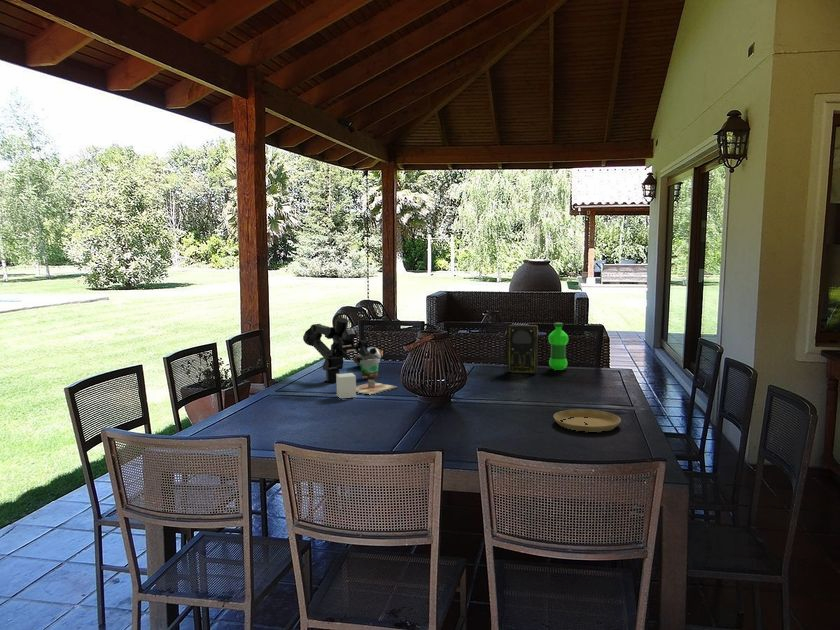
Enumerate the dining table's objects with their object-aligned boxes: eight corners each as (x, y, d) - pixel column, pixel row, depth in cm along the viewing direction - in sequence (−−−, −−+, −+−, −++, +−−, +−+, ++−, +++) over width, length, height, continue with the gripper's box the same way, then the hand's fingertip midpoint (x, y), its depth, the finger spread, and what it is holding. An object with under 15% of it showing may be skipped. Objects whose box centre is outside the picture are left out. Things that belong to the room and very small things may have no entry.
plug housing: (339, 399, 279) (339, 377, 277) (336, 395, 286) (336, 374, 284) (356, 398, 281) (355, 376, 280) (352, 394, 288) (352, 372, 287)
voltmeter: (506, 373, 329) (506, 325, 326) (509, 370, 337) (509, 323, 335) (536, 374, 325) (537, 326, 322) (538, 371, 333) (539, 324, 330)
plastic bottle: (544, 368, 339) (545, 322, 337) (562, 367, 343) (562, 321, 340) (554, 372, 330) (554, 324, 327) (571, 370, 333) (572, 323, 330)
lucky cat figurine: (367, 363, 362) (378, 342, 360) (379, 374, 354) (390, 353, 352) (348, 359, 351) (359, 338, 349) (359, 370, 343) (371, 348, 341)
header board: (345, 390, 295) (345, 381, 295) (372, 384, 309) (372, 375, 308) (370, 395, 285) (369, 386, 284) (397, 388, 298) (396, 379, 298)
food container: (369, 381, 316) (368, 361, 315) (360, 379, 320) (359, 360, 319) (385, 376, 326) (384, 357, 325) (376, 375, 329) (375, 356, 328)
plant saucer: (571, 413, 251) (571, 405, 251) (630, 423, 236) (631, 415, 236) (541, 427, 233) (541, 419, 232) (604, 439, 218) (604, 430, 217)
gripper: (326, 328, 296) (342, 343, 284) (361, 324, 306) (377, 339, 295) (324, 349, 300) (338, 364, 289) (358, 345, 311) (373, 360, 299)
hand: (357, 356), depth 293 cm, fingers open, 9 cm apart
